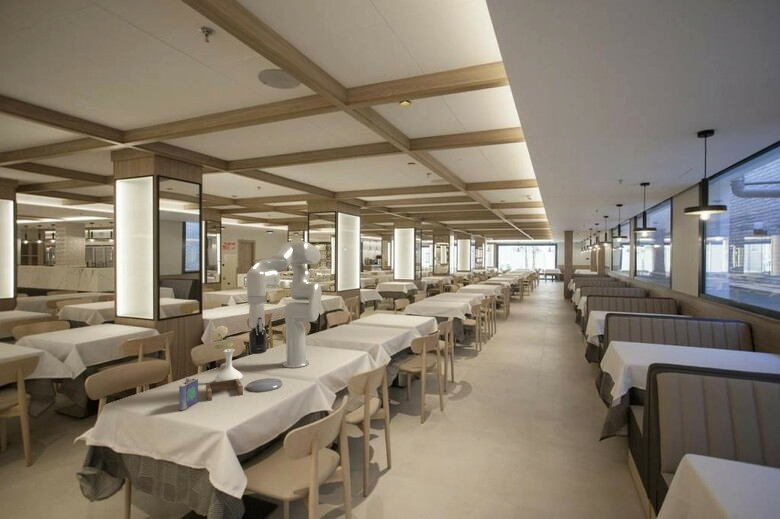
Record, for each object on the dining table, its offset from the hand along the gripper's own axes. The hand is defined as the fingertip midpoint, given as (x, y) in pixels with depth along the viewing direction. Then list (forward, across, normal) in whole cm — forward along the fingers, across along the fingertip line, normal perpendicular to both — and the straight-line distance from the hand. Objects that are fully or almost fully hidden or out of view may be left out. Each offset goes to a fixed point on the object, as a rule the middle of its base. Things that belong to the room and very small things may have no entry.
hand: (258, 342), depth 162 cm
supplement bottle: (+5, 0, 0) cm, 5 cm away
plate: (+19, 0, +2) cm, 19 cm away
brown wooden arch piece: (+19, +2, -14) cm, 23 cm away
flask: (+19, +9, -26) cm, 34 cm away
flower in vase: (+19, -14, -11) cm, 26 cm away
